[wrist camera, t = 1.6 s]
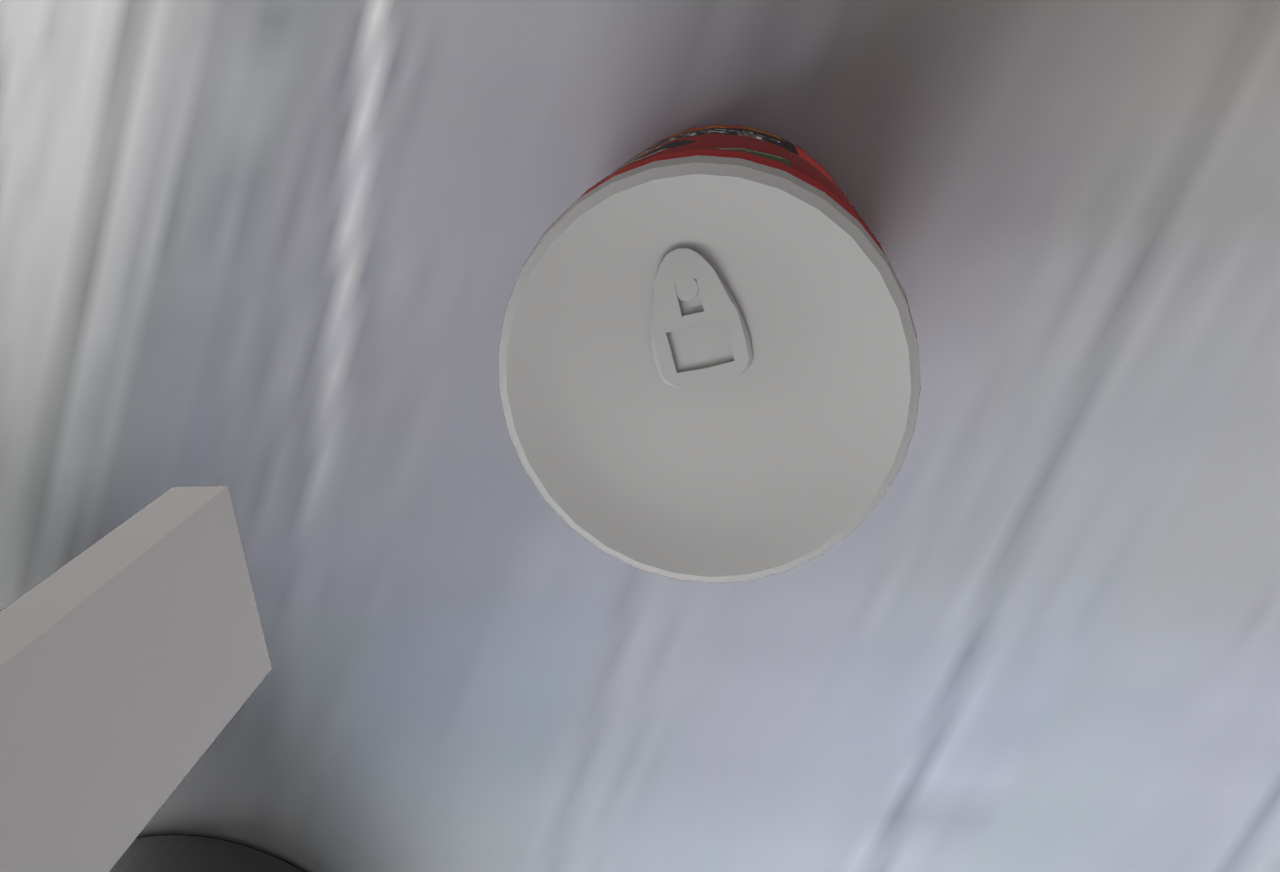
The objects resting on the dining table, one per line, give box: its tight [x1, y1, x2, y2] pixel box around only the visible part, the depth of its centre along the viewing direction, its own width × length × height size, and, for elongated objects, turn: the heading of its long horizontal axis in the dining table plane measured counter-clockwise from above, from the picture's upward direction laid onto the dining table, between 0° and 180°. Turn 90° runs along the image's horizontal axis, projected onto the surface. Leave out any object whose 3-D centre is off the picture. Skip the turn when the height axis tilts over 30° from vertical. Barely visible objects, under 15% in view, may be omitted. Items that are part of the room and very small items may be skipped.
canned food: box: [498, 125, 921, 583], centre depth 22 cm, size 8×8×11 cm
